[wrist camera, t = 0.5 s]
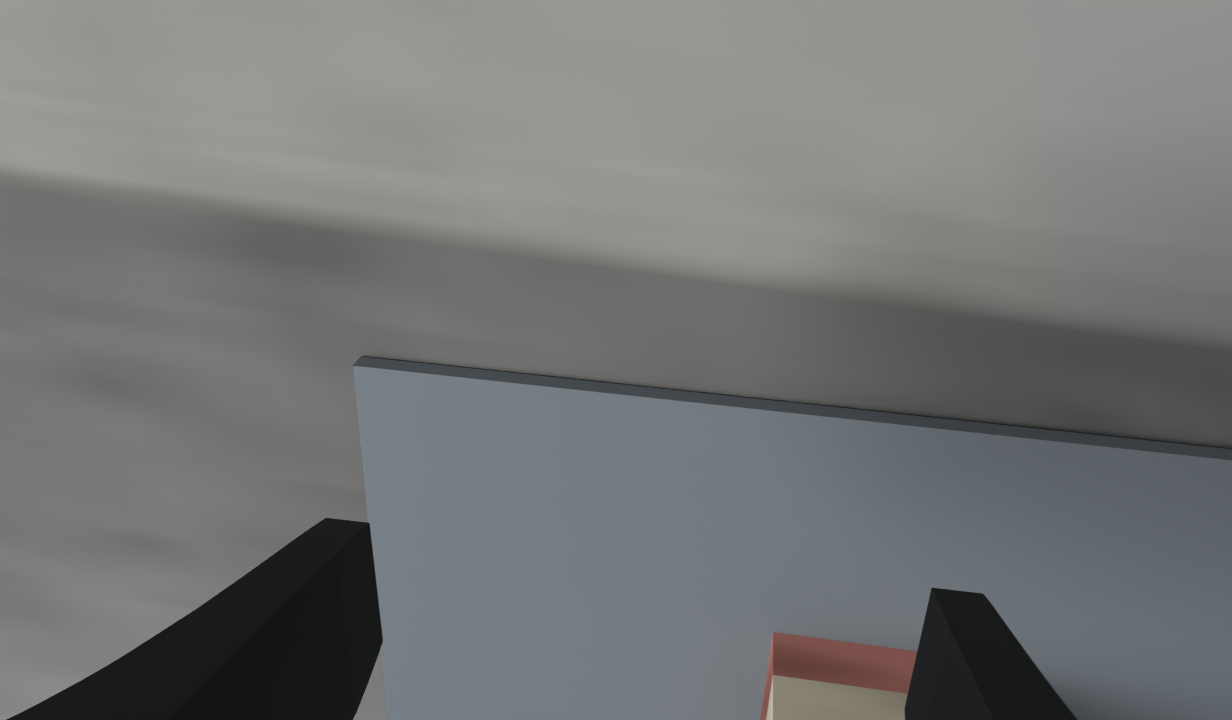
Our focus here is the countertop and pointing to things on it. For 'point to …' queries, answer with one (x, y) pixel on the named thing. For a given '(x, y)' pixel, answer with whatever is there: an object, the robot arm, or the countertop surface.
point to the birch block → (835, 680)
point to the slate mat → (766, 547)
